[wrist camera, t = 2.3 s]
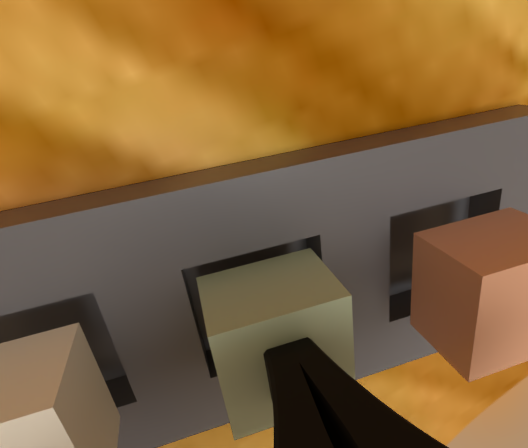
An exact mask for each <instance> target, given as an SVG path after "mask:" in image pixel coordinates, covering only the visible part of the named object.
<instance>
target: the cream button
mask: <svg viewBox="0 0 528 448" xmlns="http://www.w3.org/2000/svg"><path fill="white" fill-rule="evenodd" d="M119 425H120V414H119V412H118V410H117V407H116V405H115V403H114V401H113V398H112V396H111V394H110V392H109V389H108V387H107V385H106V383H105V380H104V378H103V376H102V373H101V371H100V369H99V367H98V364H97V362H96V360H95V358H94V355H93V353H92V351H91V349H90V346H89V344H88V342H87V340H86V337H85V335H84V333H83V330H82V328H81V326H80V324H79V323H75V324H71V325H67V326H64V327H60V328H56V329H52V330H49V331H45V332H41V333H38V334H34V335H30V336H26V337H23V338H19V339H15V340H11V341H8V342H4V343H0V448H117V445H118V435H119Z"/></svg>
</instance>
